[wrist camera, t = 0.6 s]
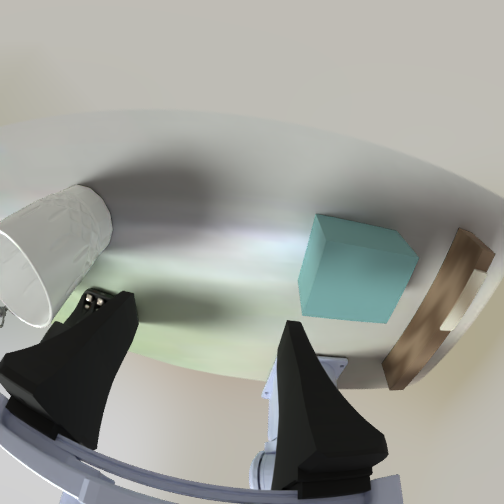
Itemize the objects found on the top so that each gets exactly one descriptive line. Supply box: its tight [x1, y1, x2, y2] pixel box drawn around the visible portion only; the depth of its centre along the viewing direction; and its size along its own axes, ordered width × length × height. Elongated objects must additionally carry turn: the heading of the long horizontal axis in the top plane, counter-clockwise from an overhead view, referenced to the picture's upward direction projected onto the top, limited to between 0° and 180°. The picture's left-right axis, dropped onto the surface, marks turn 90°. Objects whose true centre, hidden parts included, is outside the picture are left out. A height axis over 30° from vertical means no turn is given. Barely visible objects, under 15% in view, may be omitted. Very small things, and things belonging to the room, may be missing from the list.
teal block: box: [298, 214, 419, 323], centre depth 19 cm, size 6×7×4 cm
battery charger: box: [40, 289, 115, 343], centre depth 21 cm, size 7×4×11 cm, turn 75°
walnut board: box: [382, 228, 495, 390], centre depth 22 cm, size 18×2×4 cm, turn 170°
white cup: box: [0, 185, 113, 328], centre depth 17 cm, size 8×8×10 cm
